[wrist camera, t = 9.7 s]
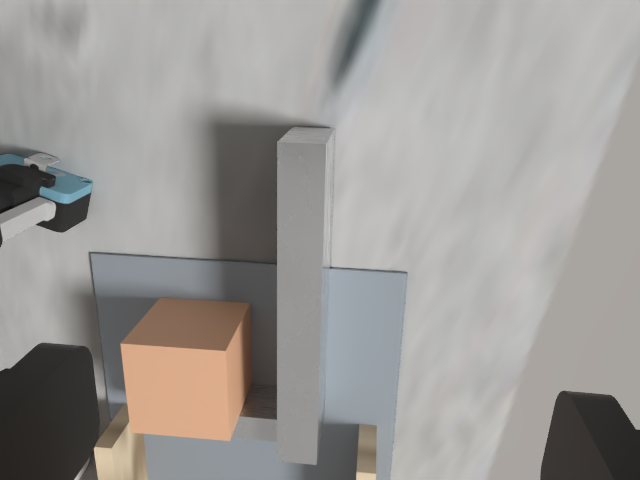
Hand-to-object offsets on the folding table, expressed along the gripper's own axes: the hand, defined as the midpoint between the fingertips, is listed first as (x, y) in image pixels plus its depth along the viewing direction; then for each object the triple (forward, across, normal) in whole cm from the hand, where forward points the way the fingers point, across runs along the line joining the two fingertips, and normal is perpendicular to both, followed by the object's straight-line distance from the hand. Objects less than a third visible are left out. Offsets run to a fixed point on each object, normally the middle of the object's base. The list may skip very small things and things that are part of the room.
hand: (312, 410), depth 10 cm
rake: (+19, +6, +6) cm, 21 cm away
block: (+19, +8, +10) cm, 23 cm away
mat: (+19, +6, +15) cm, 25 cm away
